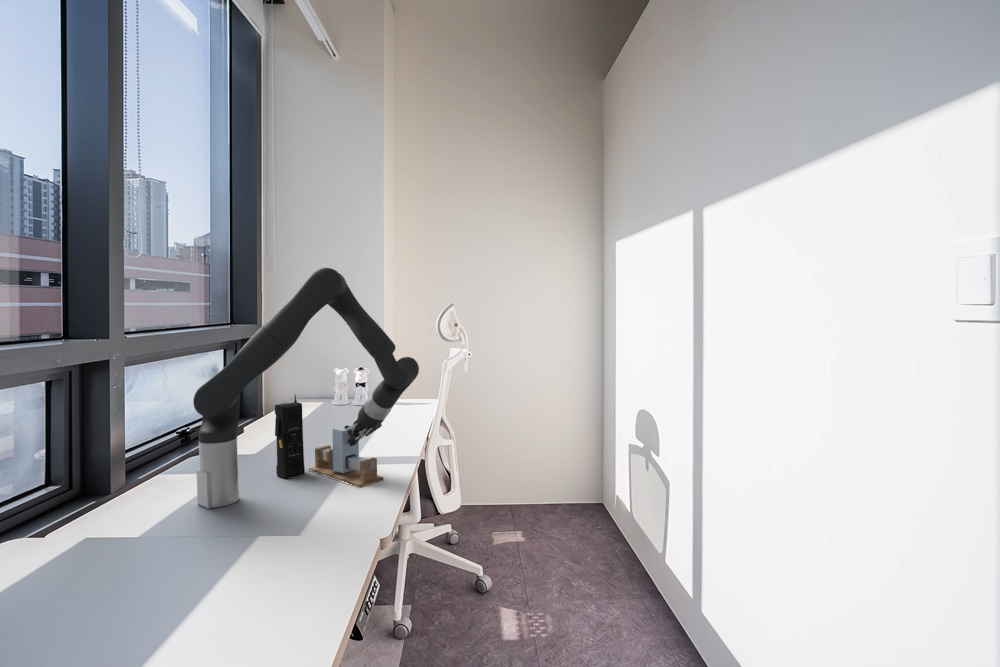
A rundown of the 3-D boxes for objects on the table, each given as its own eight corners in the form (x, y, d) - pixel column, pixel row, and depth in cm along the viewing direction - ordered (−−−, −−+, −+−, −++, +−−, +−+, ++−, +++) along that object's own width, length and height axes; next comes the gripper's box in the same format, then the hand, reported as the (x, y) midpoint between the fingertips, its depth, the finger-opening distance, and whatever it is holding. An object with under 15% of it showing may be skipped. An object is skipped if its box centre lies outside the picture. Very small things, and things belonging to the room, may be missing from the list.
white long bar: (374, 471, 164) (374, 460, 164) (365, 473, 161) (365, 462, 161) (326, 456, 179) (326, 446, 179) (317, 459, 177) (317, 448, 176)
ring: (349, 465, 174) (349, 447, 174) (333, 470, 169) (332, 451, 169) (345, 464, 175) (345, 446, 175) (329, 468, 170) (329, 450, 170)
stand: (383, 479, 166) (383, 457, 166) (359, 487, 159) (358, 464, 158) (332, 464, 182) (332, 443, 182) (308, 470, 175) (308, 449, 175)
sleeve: (359, 468, 171) (358, 427, 170) (342, 473, 166) (342, 431, 165) (349, 465, 174) (348, 425, 173) (333, 470, 169) (332, 428, 168)
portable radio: (283, 480, 165) (281, 399, 164) (272, 476, 169) (270, 397, 167) (306, 474, 171) (304, 395, 170) (295, 470, 175) (293, 393, 174)
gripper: (387, 396, 166) (363, 429, 174) (351, 402, 156) (327, 437, 164) (399, 415, 163) (374, 448, 171) (363, 422, 153) (338, 458, 161)
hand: (351, 443), depth 167 cm, fingers closed
